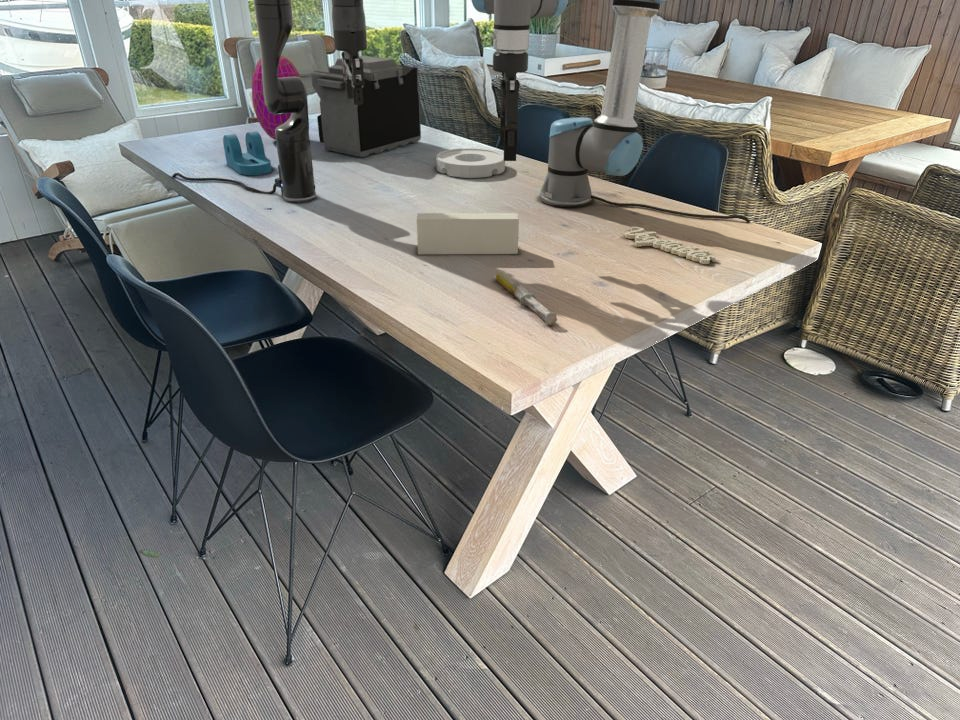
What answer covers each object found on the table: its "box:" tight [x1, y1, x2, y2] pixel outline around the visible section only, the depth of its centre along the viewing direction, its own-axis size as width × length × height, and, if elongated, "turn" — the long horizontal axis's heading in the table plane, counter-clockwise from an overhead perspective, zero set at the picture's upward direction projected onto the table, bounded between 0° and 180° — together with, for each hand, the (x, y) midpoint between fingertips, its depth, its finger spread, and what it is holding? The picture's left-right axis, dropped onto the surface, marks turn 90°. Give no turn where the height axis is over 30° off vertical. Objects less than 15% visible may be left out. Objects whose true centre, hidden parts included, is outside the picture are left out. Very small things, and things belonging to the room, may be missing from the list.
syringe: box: [495, 269, 558, 326], centre depth 143 cm, size 25×4×3 cm, turn 21°
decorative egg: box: [251, 55, 302, 141], centre depth 257 cm, size 19×19×30 cm
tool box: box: [310, 55, 422, 159], centre depth 250 cm, size 37×22×30 cm, turn 144°
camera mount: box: [222, 131, 272, 176], centre depth 226 cm, size 18×10×10 cm, turn 35°
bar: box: [416, 212, 520, 255], centre depth 165 cm, size 24×4×9 cm, turn 92°
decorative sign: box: [624, 226, 717, 265], centre depth 170 cm, size 26×1×10 cm
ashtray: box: [435, 147, 506, 179], centre depth 231 cm, size 23×23×4 cm
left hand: (355, 101), depth 167 cm, fingers open, 8 cm apart
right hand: (507, 153), depth 156 cm, fingers open, 13 cm apart
